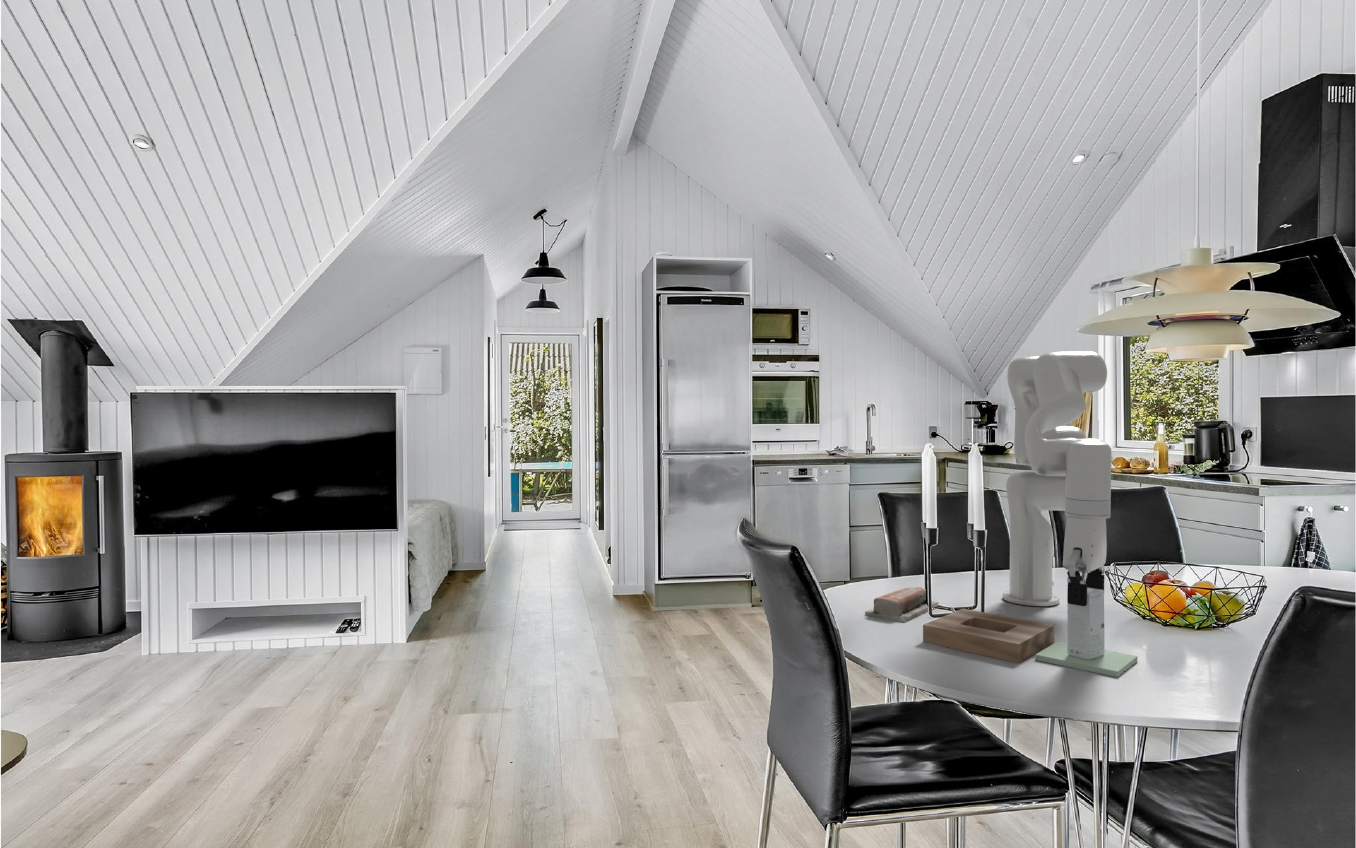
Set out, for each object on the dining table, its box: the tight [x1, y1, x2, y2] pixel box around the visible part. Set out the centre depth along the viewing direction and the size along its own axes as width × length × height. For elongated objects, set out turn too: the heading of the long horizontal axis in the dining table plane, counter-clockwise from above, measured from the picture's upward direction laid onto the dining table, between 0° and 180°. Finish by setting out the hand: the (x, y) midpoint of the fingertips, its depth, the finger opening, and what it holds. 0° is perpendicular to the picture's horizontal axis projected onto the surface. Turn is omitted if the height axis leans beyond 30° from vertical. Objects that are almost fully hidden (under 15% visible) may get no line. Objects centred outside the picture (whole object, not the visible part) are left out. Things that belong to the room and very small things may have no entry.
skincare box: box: [1066, 587, 1106, 660], centre depth 151 cm, size 6×4×12 cm
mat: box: [1034, 640, 1139, 678], centre depth 150 cm, size 12×14×1 cm
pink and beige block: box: [864, 587, 939, 623], centre depth 187 cm, size 18×5×10 cm
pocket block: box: [922, 608, 1055, 664], centre depth 162 cm, size 18×19×4 cm
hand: (1086, 599), depth 151 cm, fingers open, 9 cm apart
